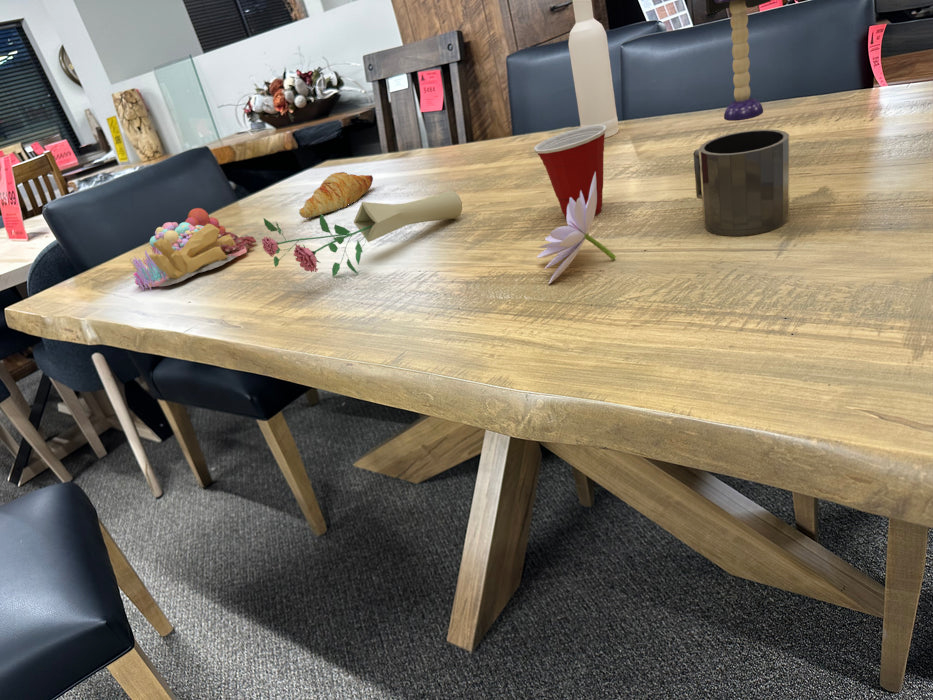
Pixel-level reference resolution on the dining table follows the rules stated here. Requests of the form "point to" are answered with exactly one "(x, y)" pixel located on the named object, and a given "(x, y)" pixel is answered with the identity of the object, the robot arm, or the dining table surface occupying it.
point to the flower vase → (372, 226)
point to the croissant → (336, 193)
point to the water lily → (573, 232)
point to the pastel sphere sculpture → (188, 250)
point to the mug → (744, 182)
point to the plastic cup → (574, 163)
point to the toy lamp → (741, 66)
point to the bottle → (592, 70)
